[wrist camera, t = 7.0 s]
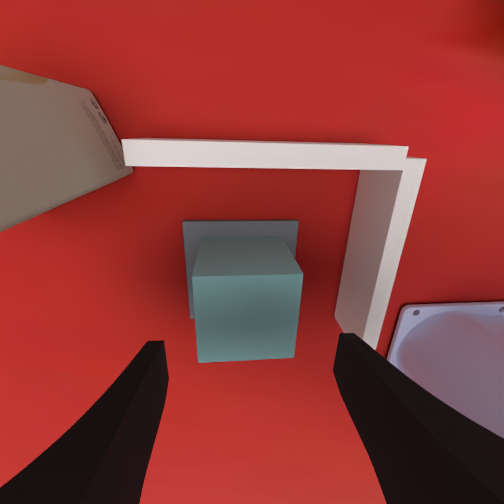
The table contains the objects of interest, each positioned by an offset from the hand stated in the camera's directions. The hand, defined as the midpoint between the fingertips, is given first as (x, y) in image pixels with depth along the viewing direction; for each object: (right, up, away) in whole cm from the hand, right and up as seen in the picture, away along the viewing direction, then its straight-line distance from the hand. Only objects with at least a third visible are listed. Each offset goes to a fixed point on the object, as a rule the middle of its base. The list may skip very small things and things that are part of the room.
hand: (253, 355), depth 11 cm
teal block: (-1, +3, +7) cm, 7 cm away
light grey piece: (0, +5, +6) cm, 8 cm away
